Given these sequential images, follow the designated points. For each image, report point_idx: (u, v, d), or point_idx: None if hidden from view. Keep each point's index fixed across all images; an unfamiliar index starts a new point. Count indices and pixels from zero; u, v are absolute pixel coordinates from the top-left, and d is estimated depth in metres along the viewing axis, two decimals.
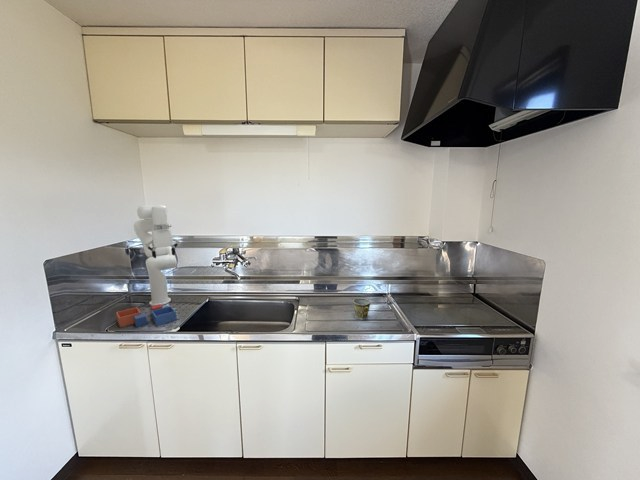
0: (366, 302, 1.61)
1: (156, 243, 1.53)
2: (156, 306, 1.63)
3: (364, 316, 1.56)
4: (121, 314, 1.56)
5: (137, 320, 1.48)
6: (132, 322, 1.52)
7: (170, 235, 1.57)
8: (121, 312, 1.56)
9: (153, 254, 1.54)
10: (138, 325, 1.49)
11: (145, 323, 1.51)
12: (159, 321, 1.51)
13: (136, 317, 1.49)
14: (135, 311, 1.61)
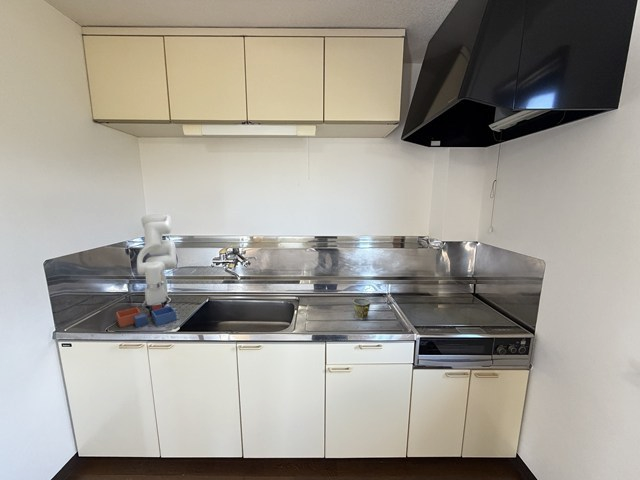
0: (366, 302, 1.61)
1: (149, 301, 1.59)
2: (156, 306, 1.63)
3: (364, 316, 1.56)
4: (121, 314, 1.56)
5: (137, 320, 1.48)
6: (132, 322, 1.52)
7: (163, 292, 1.63)
8: (121, 312, 1.56)
9: (150, 312, 1.61)
10: (138, 325, 1.49)
11: (145, 323, 1.51)
12: (159, 321, 1.51)
13: (136, 317, 1.49)
14: (135, 311, 1.61)
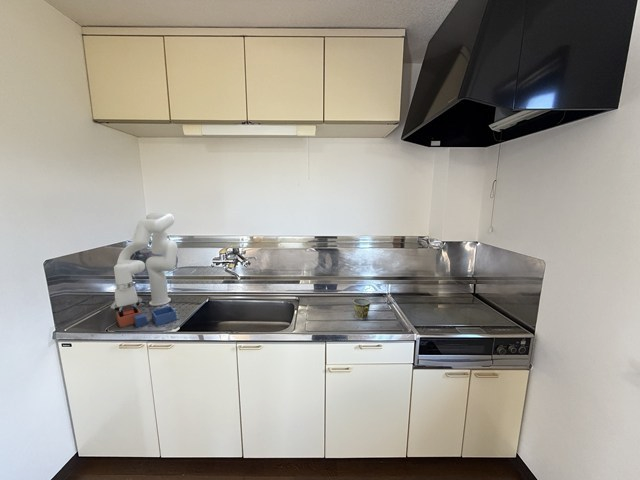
0: (366, 302, 1.61)
1: (119, 303, 1.49)
2: (128, 312, 1.55)
3: (364, 316, 1.56)
4: None
5: (137, 320, 1.48)
6: (132, 322, 1.52)
7: (134, 293, 1.54)
8: None
9: (120, 314, 1.52)
10: (138, 325, 1.49)
11: (145, 323, 1.51)
12: (159, 321, 1.51)
13: (136, 317, 1.49)
14: None
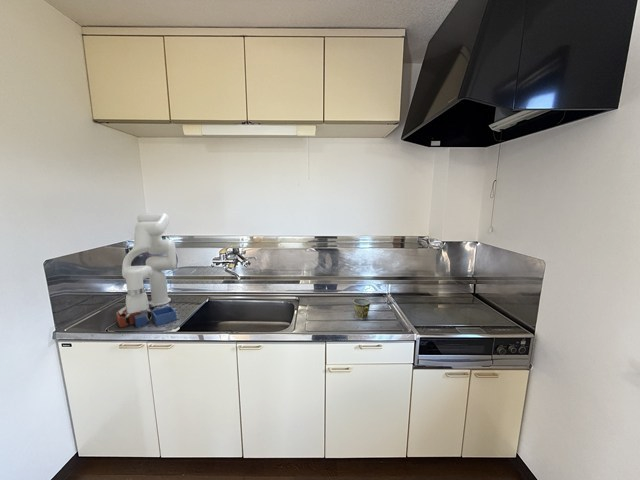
0: (366, 302, 1.61)
1: (130, 309, 1.45)
2: None
3: (364, 316, 1.56)
4: None
5: (137, 320, 1.48)
6: (132, 322, 1.52)
7: (145, 299, 1.49)
8: None
9: (127, 321, 1.45)
10: (138, 325, 1.49)
11: (145, 323, 1.51)
12: (159, 321, 1.51)
13: (136, 317, 1.49)
14: None
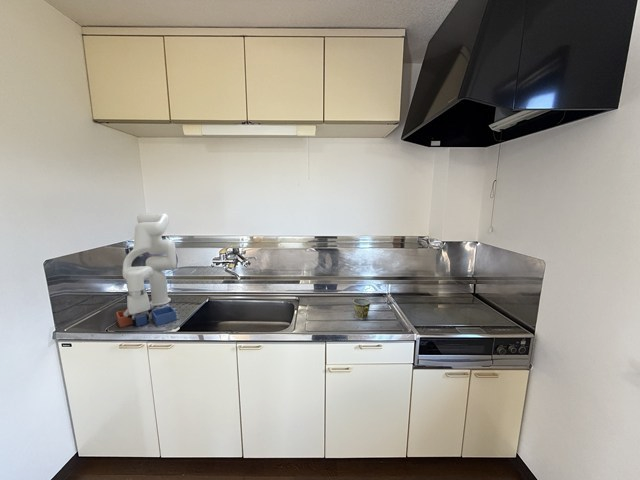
0: (366, 302, 1.61)
1: (131, 310, 1.46)
2: (128, 312, 1.55)
3: (364, 316, 1.56)
4: (121, 314, 1.56)
5: (137, 319, 1.49)
6: None
7: (147, 300, 1.51)
8: (121, 312, 1.56)
9: (133, 322, 1.49)
10: (139, 324, 1.49)
11: (145, 322, 1.51)
12: (159, 321, 1.51)
13: (136, 316, 1.50)
14: None
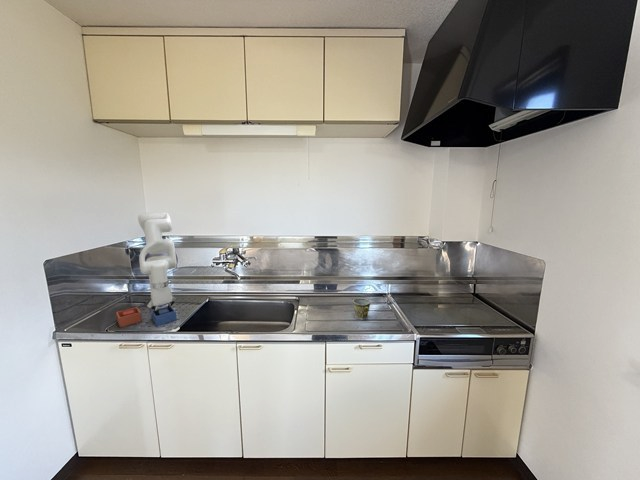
0: (366, 302, 1.61)
1: (155, 302, 1.51)
2: (128, 312, 1.55)
3: (364, 316, 1.56)
4: (121, 314, 1.56)
5: None
6: (132, 322, 1.52)
7: (169, 292, 1.55)
8: (121, 312, 1.56)
9: (156, 313, 1.53)
10: None
11: None
12: (159, 321, 1.51)
13: (159, 312, 1.55)
14: (135, 311, 1.61)
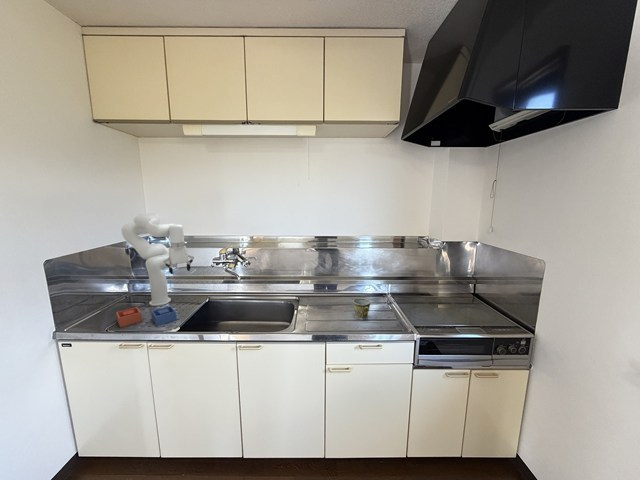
0: (366, 302, 1.61)
1: (173, 260, 1.62)
2: (128, 312, 1.55)
3: (364, 316, 1.56)
4: (121, 314, 1.56)
5: None
6: (132, 322, 1.52)
7: (186, 252, 1.66)
8: (121, 312, 1.56)
9: (170, 270, 1.63)
10: None
11: None
12: (159, 321, 1.51)
13: (159, 312, 1.55)
14: (135, 311, 1.61)
